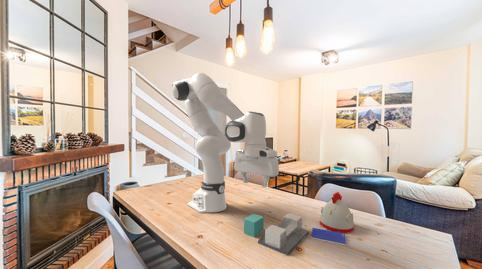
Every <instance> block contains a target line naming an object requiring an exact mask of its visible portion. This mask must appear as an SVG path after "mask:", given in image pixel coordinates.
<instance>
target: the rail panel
mask: <svg viewBox="0 0 482 269" xmlns="http://www.w3.org/2000/svg"><path fill="white" fill-rule="evenodd" d="M302 227H303V216H301V215H296V214H293V213H287V214H285V215H284V216H283V222H280V223H279V225H274V224H271V225H270V226H268V227H266V228H265V230H264V231H265V232H264V235H263V236H262V237H260V238H259V239H258V240H257V243H258V244H259V245H261V246H264V247H266V248H269V249H270V250H274V251H276V252H278V253H280V254H283V255H286V256H289V255H290V254H291V253H292V252H293V251H294V249H296V247H297V246H298V245H299V244H300V243H301V242H302V241H303V240H304V239H305V238H306V236H308V235H309V234H310V230H308V229H304V228H302Z"/></svg>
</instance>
